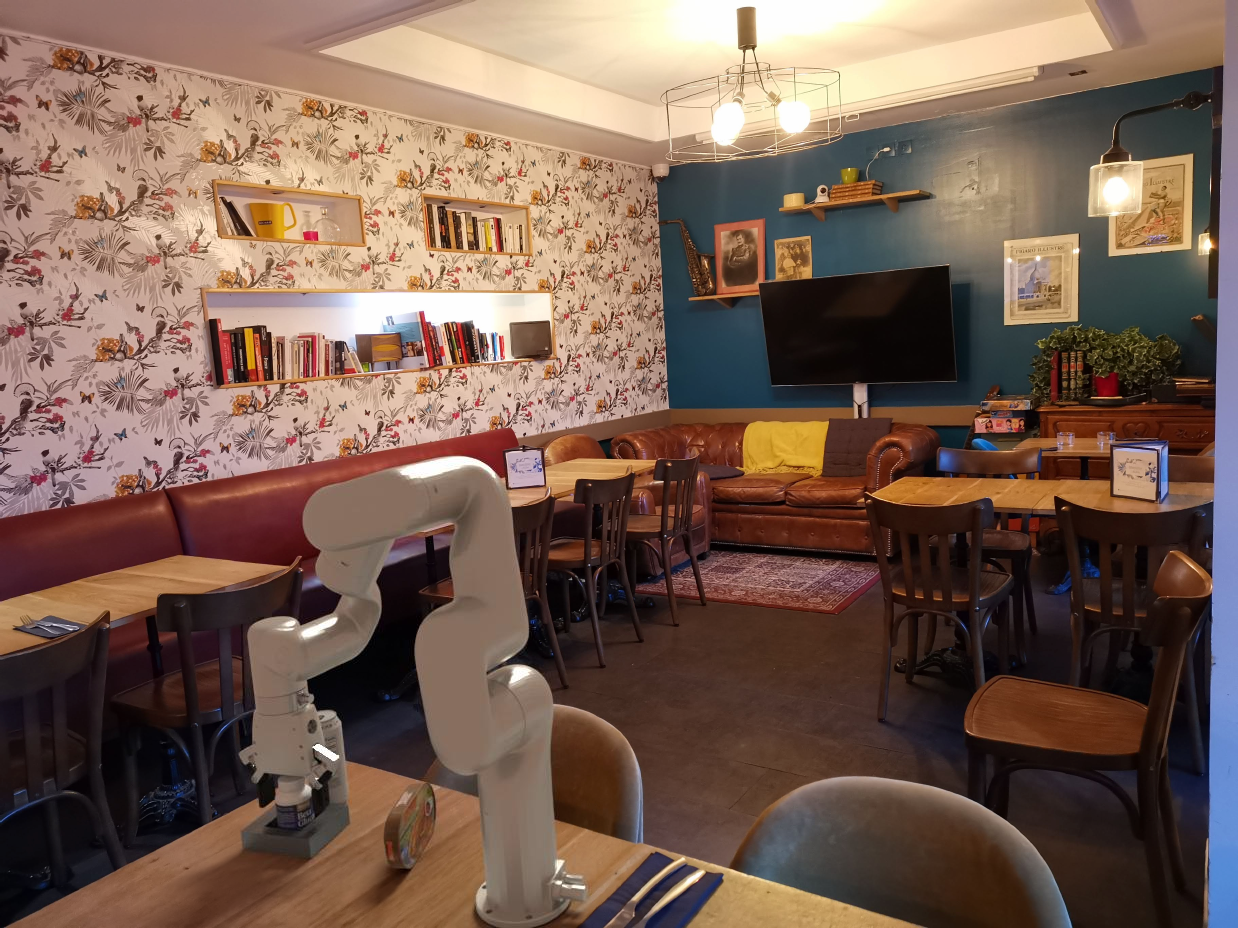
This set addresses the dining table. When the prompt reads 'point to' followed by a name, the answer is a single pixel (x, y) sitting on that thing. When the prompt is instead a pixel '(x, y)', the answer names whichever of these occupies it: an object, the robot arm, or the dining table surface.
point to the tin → (410, 825)
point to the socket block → (295, 833)
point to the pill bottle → (293, 803)
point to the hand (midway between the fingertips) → (294, 806)
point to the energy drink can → (336, 746)
